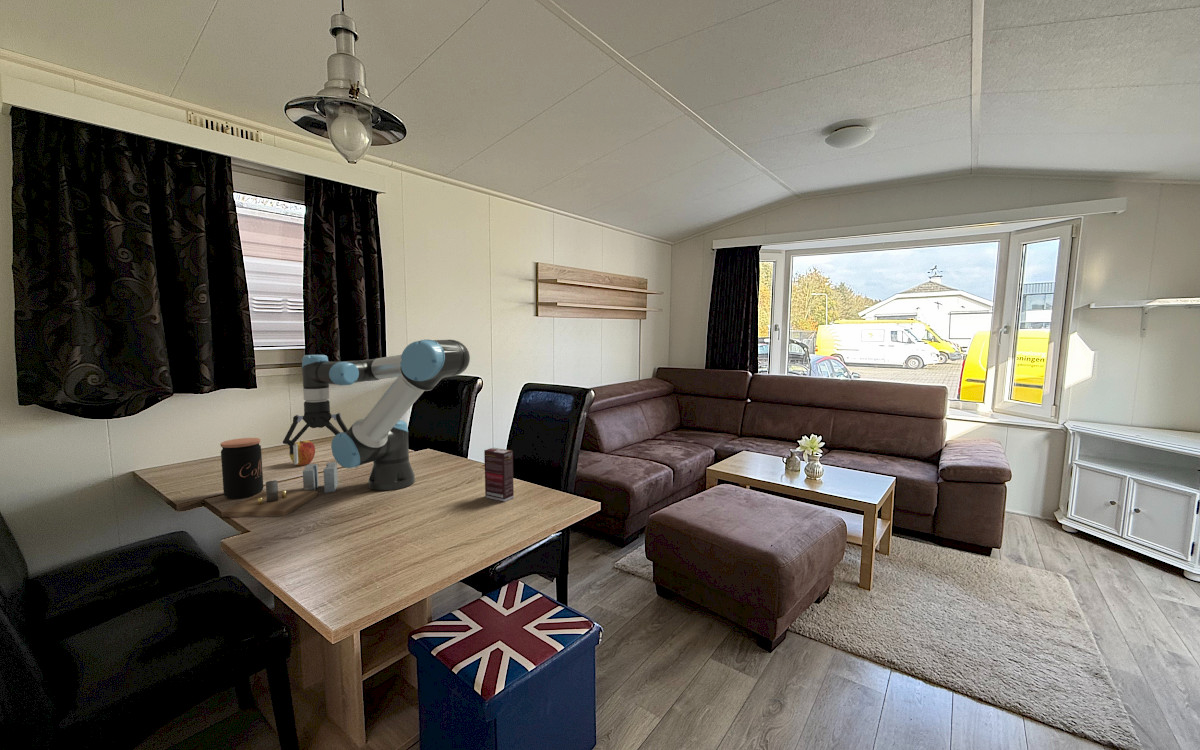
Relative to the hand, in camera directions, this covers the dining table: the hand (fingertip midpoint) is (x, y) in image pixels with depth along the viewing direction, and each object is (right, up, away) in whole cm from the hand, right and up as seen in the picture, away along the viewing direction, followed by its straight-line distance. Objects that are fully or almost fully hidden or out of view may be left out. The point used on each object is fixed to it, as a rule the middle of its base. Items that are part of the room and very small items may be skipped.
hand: (319, 461), depth 163 cm
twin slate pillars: (0, -10, +1) cm, 10 cm away
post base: (-6, -11, -15) cm, 19 cm away
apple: (-25, -7, +31) cm, 41 cm away
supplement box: (+63, -11, -7) cm, 65 cm away
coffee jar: (-22, -10, -4) cm, 25 cm away
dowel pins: (-6, -9, -15) cm, 18 cm away
